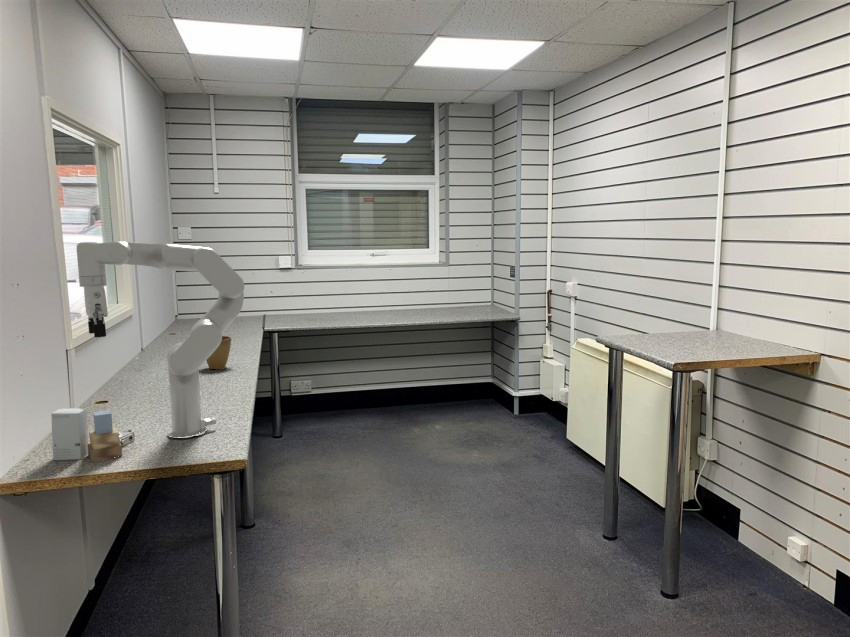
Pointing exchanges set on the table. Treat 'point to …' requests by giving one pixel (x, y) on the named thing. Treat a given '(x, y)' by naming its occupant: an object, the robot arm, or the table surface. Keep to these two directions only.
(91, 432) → the oak slab
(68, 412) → the skincare box
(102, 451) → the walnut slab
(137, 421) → the table surface
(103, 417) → the blue block
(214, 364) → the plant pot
